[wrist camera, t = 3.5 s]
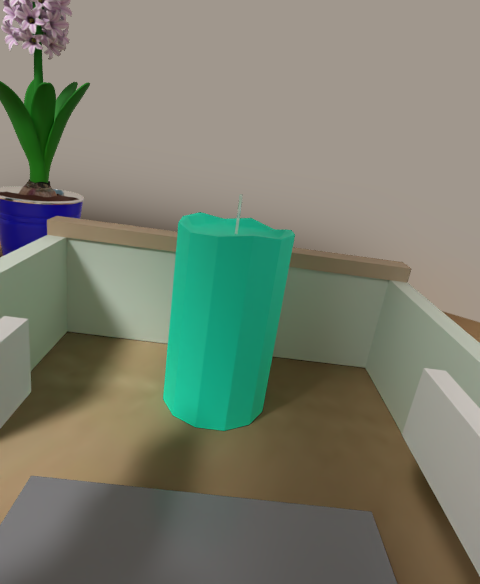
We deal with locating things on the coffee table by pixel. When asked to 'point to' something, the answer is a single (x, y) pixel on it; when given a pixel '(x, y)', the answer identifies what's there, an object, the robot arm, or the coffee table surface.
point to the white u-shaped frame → (293, 318)
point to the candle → (224, 318)
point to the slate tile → (182, 539)
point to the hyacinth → (37, 124)
